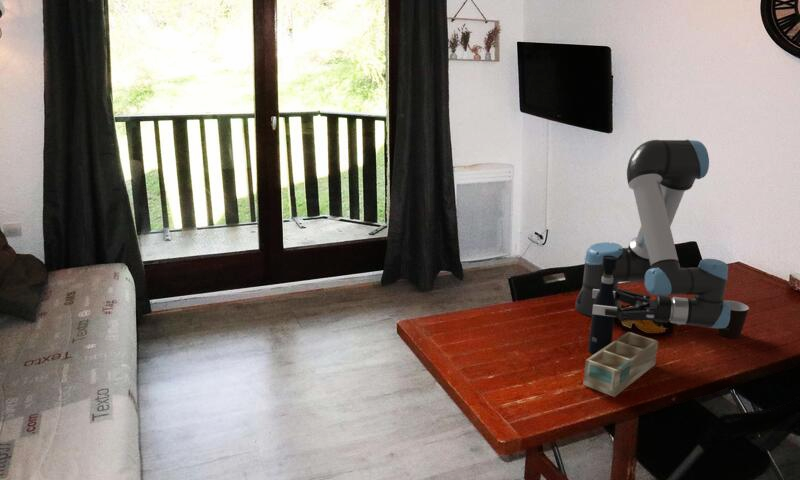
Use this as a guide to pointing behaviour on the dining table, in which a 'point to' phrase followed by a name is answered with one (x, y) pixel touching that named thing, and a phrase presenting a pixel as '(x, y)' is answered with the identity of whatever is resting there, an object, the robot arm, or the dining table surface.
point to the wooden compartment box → (620, 363)
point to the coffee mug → (734, 320)
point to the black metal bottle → (600, 323)
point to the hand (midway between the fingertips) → (592, 301)
